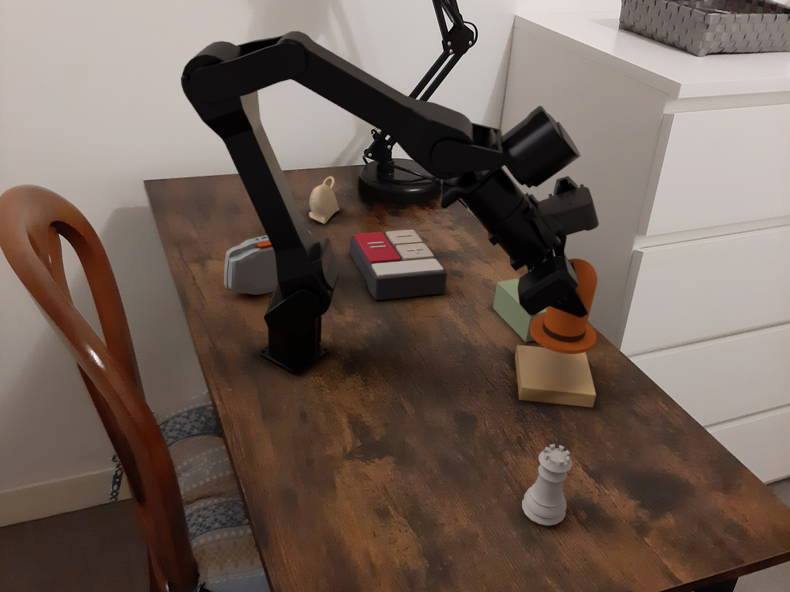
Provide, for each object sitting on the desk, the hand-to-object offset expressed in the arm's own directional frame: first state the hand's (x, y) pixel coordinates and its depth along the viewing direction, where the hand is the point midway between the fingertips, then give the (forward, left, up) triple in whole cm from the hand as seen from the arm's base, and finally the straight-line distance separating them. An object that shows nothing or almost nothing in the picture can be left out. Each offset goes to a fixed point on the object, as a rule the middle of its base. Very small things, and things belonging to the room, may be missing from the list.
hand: (581, 303), depth 90 cm
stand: (-1, +1, -12) cm, 12 cm away
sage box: (+9, +10, -12) cm, 18 cm away
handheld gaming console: (-8, +43, -12) cm, 45 cm away
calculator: (+8, +32, -12) cm, 35 cm away
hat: (-1, +1, -5) cm, 5 cm away
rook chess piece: (-21, -8, -12) cm, 26 cm away
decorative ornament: (+16, +54, -10) cm, 57 cm away
